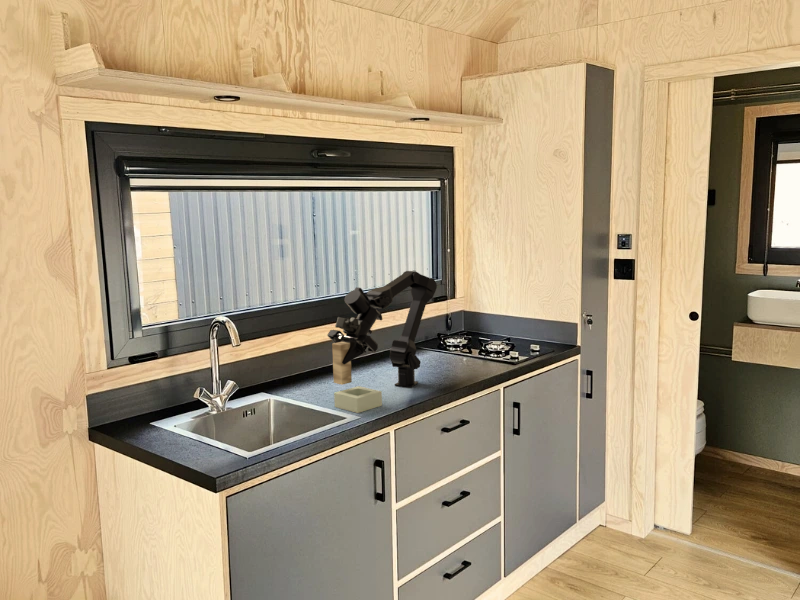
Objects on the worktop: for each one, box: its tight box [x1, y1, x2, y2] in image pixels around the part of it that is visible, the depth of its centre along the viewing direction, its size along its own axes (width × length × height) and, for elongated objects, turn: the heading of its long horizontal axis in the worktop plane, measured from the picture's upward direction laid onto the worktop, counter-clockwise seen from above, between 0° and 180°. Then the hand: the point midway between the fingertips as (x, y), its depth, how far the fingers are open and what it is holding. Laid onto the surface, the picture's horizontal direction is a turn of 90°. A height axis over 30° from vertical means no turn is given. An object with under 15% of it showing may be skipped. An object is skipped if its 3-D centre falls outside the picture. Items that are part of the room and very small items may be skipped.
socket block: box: [333, 385, 383, 414], centre depth 222 cm, size 10×10×4 cm
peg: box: [331, 342, 353, 386], centre depth 224 cm, size 4×4×12 cm
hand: (338, 362), depth 223 cm, fingers closed on peg, 4 cm apart
